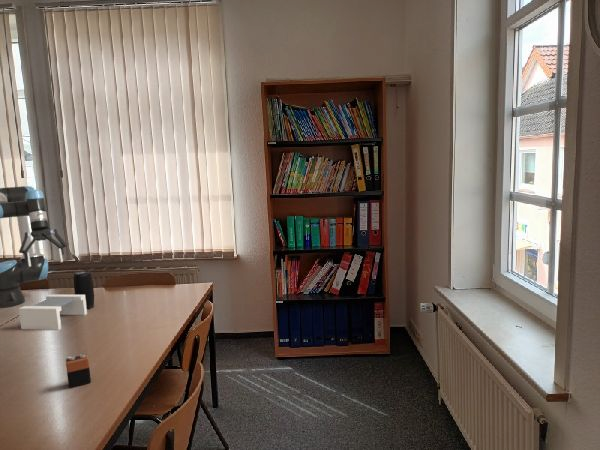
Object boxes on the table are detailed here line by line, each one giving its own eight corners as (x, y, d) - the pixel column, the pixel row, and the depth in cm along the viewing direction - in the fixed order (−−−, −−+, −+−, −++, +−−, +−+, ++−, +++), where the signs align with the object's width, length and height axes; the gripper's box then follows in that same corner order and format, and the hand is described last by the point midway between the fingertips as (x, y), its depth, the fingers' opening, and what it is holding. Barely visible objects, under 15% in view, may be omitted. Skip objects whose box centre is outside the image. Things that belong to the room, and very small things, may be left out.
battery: (68, 383, 159) (65, 355, 158) (89, 378, 163) (86, 351, 161) (69, 388, 156) (65, 360, 154) (91, 383, 159) (88, 355, 158)
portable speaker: (92, 309, 240) (88, 273, 237) (73, 311, 239) (69, 274, 237) (98, 304, 248) (94, 269, 246) (80, 305, 248) (75, 270, 245)
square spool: (52, 313, 237) (50, 294, 236) (87, 313, 234) (85, 294, 233) (21, 329, 215) (18, 308, 214) (58, 329, 213) (56, 308, 211)
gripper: (9, 222, 215) (16, 267, 212) (68, 217, 230) (75, 258, 227) (8, 226, 221) (15, 269, 218) (65, 220, 236) (72, 261, 233)
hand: (46, 264), depth 223 cm, fingers open, 13 cm apart
